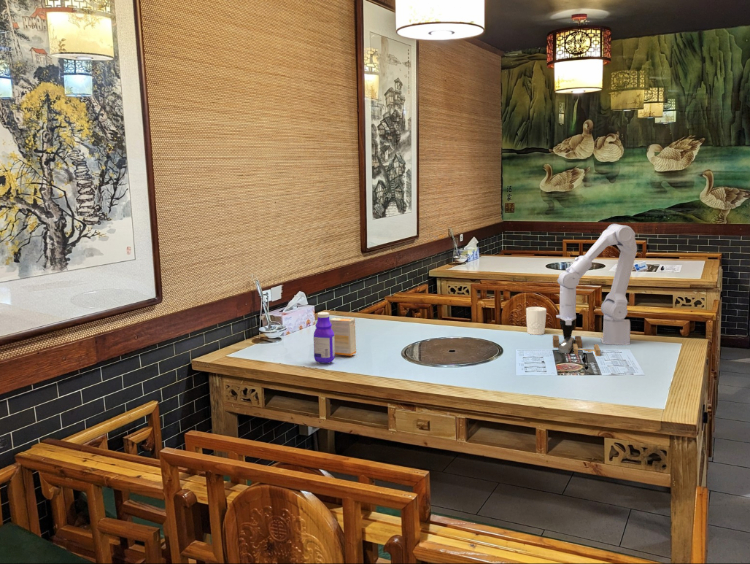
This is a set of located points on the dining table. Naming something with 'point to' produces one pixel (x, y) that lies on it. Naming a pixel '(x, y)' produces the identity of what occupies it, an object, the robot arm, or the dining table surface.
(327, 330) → the bottle
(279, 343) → the dining table surface
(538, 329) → the white cup
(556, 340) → the bearing block
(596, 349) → the oak cradle
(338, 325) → the supplement box
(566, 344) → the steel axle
